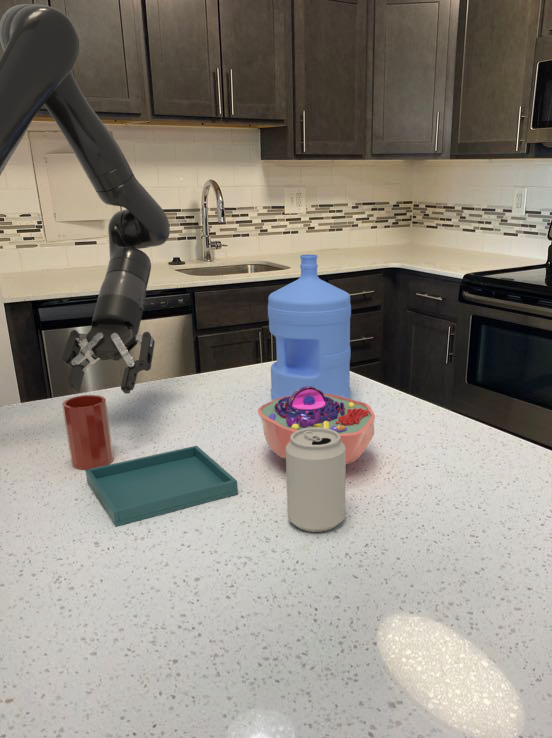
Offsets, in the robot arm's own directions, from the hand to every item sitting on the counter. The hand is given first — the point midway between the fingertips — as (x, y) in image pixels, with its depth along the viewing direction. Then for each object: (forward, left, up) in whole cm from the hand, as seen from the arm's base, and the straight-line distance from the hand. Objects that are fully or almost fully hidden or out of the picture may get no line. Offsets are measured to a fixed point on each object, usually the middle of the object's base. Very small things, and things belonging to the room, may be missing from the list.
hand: (99, 390), depth 106 cm
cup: (-3, -4, -10) cm, 11 cm away
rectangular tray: (+3, -19, -10) cm, 22 cm away
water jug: (+41, +3, -10) cm, 42 cm away
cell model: (+27, -23, -10) cm, 37 cm away
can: (+17, -39, -10) cm, 44 cm away
